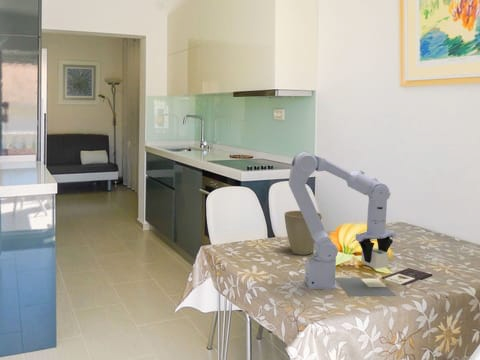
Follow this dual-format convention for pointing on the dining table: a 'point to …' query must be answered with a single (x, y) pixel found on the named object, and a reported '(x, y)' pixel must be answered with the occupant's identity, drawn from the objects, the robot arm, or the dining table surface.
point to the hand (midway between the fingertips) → (374, 260)
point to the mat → (364, 287)
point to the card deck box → (377, 259)
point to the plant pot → (298, 233)
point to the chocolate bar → (407, 276)
